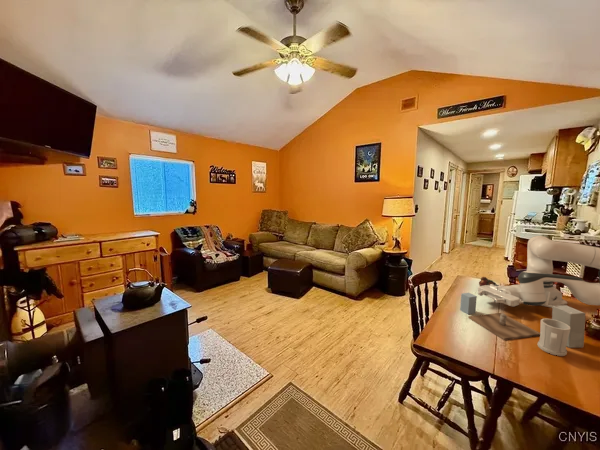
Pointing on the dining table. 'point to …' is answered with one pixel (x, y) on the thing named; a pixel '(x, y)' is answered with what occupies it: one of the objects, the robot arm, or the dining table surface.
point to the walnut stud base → (504, 326)
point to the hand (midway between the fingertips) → (487, 297)
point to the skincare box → (571, 324)
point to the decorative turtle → (486, 282)
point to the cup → (553, 337)
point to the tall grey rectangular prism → (468, 303)
